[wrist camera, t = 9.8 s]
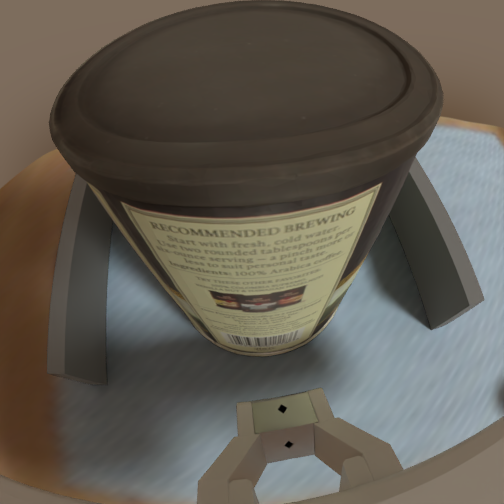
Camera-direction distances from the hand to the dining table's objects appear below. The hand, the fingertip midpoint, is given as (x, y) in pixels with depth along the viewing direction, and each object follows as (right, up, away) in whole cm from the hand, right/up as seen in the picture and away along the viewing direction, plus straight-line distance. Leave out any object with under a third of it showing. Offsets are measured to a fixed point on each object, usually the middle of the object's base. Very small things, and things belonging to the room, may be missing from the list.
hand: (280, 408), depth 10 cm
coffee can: (-1, +4, +9) cm, 10 cm away
